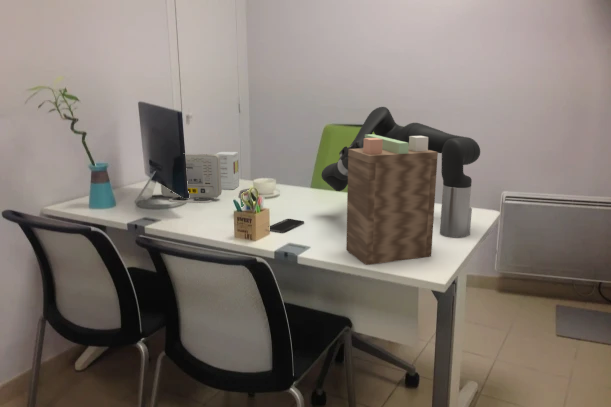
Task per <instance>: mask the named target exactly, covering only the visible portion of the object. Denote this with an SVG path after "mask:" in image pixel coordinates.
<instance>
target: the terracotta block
mask: <svg viewBox="0 0 611 407" xmlns="http://www.w3.org/2000/svg"><path fill="white" fill-rule="evenodd" d="M382 145H383V139H379V138H364V145H363V152H364V153H368V154H381V153H382Z"/></svg>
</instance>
